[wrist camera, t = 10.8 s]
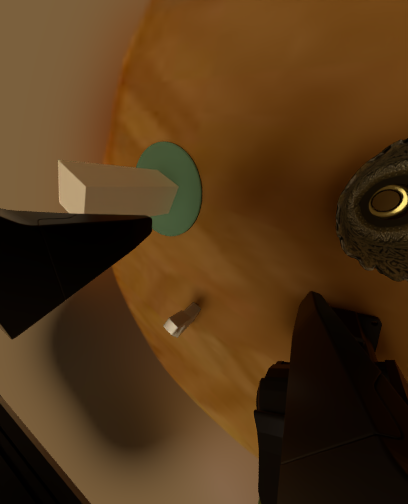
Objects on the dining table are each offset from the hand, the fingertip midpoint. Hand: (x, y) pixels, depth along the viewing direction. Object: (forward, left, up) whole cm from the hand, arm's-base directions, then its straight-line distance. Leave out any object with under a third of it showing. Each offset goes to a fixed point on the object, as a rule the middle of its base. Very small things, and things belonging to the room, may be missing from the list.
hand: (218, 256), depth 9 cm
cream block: (+4, +15, -12) cm, 20 cm away
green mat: (+4, +15, -13) cm, 20 cm away
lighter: (-15, +12, -13) cm, 23 cm away
